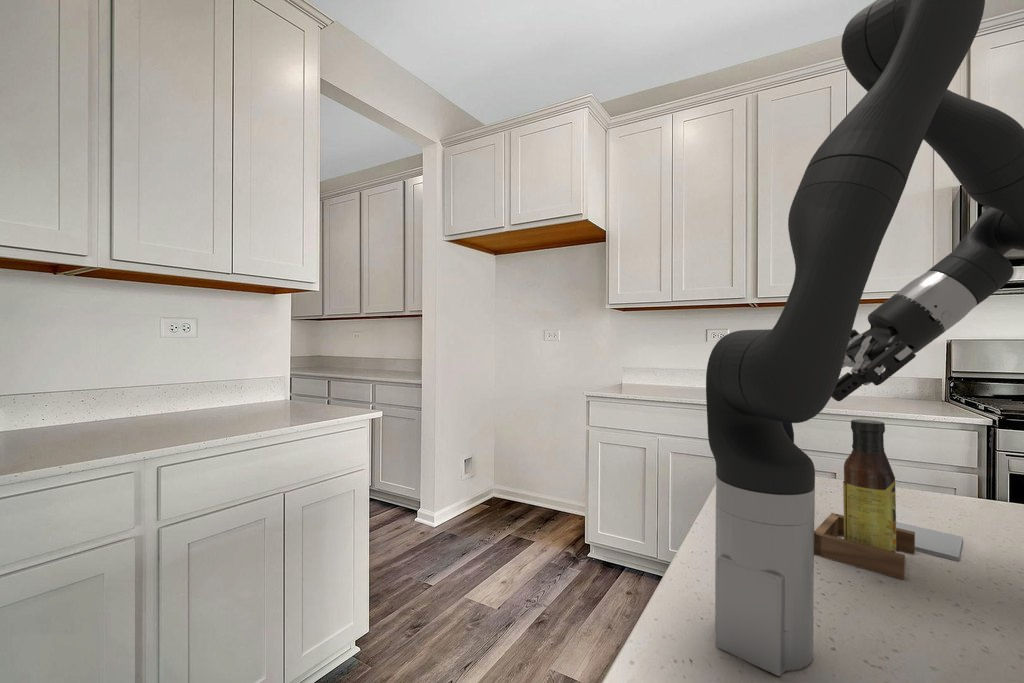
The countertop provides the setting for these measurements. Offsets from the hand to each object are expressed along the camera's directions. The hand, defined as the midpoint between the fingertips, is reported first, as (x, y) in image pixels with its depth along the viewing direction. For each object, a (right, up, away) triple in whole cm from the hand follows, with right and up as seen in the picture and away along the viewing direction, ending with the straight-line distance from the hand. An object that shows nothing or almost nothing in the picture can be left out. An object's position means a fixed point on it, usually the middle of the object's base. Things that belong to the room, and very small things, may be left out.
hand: (819, 388), depth 69 cm
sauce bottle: (+8, -25, +1) cm, 26 cm away
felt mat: (+20, -25, +6) cm, 32 cm away
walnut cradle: (+8, -25, +1) cm, 26 cm away
